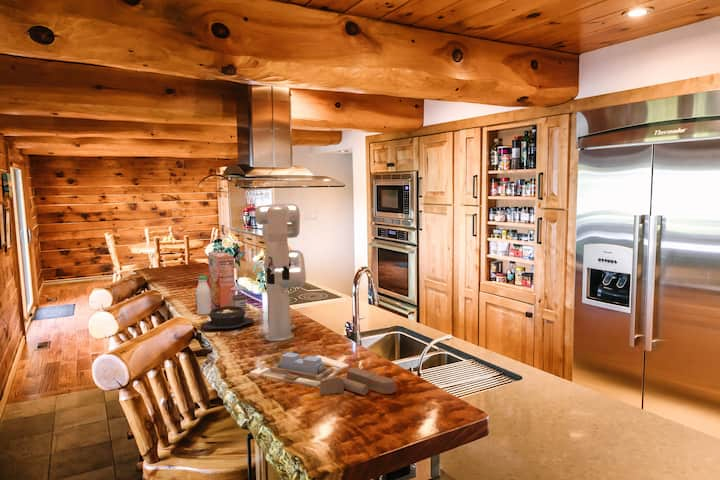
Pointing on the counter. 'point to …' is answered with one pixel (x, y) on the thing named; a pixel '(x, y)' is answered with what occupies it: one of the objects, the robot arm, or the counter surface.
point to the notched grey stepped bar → (302, 363)
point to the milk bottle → (203, 297)
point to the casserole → (227, 318)
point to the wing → (333, 362)
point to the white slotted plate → (260, 369)
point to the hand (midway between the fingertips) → (278, 281)
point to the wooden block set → (358, 383)
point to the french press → (239, 297)
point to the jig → (300, 375)
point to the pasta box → (221, 278)
